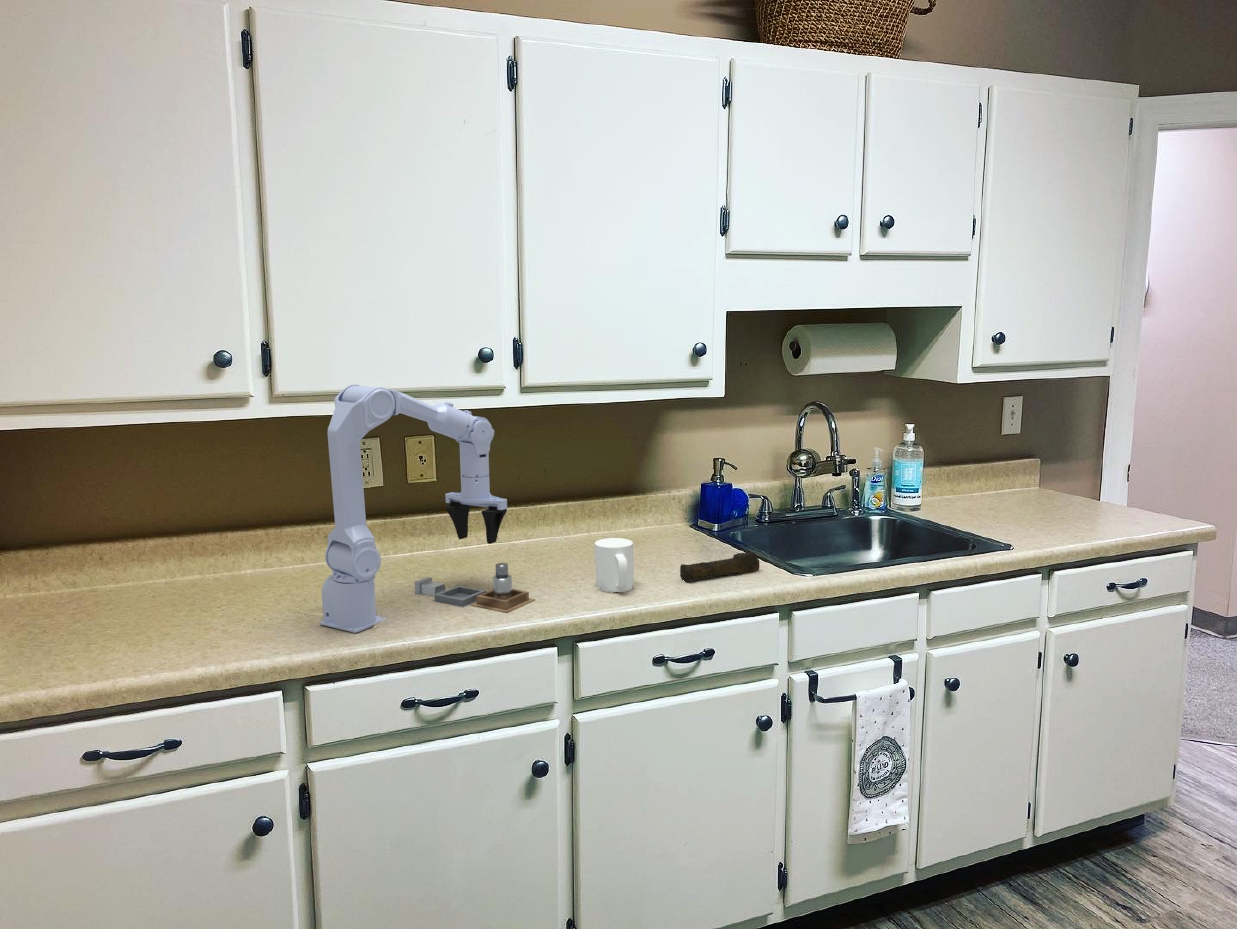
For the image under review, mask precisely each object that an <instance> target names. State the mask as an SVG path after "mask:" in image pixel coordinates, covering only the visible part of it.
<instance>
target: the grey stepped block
mask: <svg viewBox="0 0 1237 929" xmlns="http://www.w3.org/2000/svg"><path fill="white" fill-rule="evenodd" d="M445 590H446V583H443V582H440V581H439V582H438V581H434V580H433V577H430V576H426V577H422V578H419V579H417V580H415V581H414V594H417V595H426V596H430V597H434V598H435V594H438V593H440V592H443V591H445Z"/></svg>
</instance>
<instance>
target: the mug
mask: <svg viewBox="0 0 1237 929" xmlns="http://www.w3.org/2000/svg"><path fill="white" fill-rule="evenodd" d="M594 564H595V570H596V571H595V587H596V588H597V589H598V590H599V589H600V591H601V590H602V591H601V592H604V591H606V592H605V593H609V592H623V593H627V592H629V590H630V591H632V590H633V588H634V584H633V583H634V577H635V575H634V573H635V571H634V569H635V567H634V566H635V565H634V542H633V541H632V540H630V539H627V538H621V537H620V538H619V537H610V538H609V537H608V538H602V539H598V540H596V541H595V542H594ZM632 587H633V588H632ZM626 591H627V592H626Z"/></svg>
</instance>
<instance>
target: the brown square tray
mask: <svg viewBox="0 0 1237 929" xmlns="http://www.w3.org/2000/svg"><path fill="white" fill-rule="evenodd" d="M533 602H536V598H532V597H530V593H529V591H525V590H520V589H516V588H512V597H511V598H509V599H506V600H503V599H497V598H494V595H493V588H492V589H490V590H488V591H486V592H485V593H483V594H480V595H478V596H477V602H475V603H473V604H470V605H469V606H470V607H474V608H475V607H476V608H480V609H485V610H489V611H490V610H491V611H494V612H497V613H498V612H499V613H503V614H508V613H511V612H513V611H516V610H517V609H519V608H522V607H524V606H526V605H528V604H531V603H533Z"/></svg>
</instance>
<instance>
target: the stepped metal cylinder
mask: <svg viewBox="0 0 1237 929" xmlns="http://www.w3.org/2000/svg"><path fill="white" fill-rule="evenodd" d="M512 578H513V577H512V575H510V574H509V563H507V562H499V563H496V564H495V575H494V576H493V577H492V589H493V595H494V598H497V599H503V600H506V599H509V598H511V597H512V589H513V584H512V580H513V579H512Z"/></svg>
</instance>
